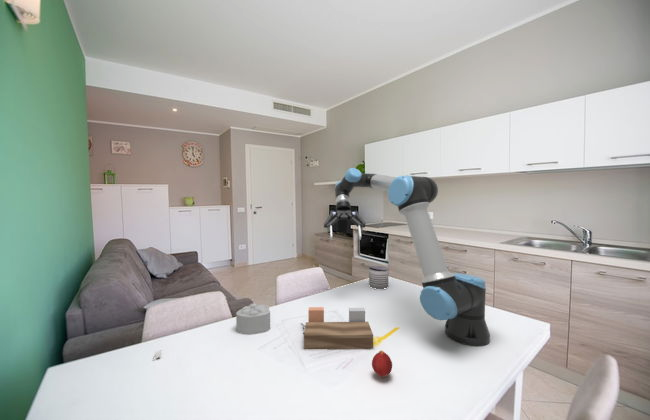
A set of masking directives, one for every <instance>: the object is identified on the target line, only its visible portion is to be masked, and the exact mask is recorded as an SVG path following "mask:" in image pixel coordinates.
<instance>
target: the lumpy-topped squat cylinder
mask: <svg viewBox="0 0 650 420" xmlns="http://www.w3.org/2000/svg"><path fill="white" fill-rule="evenodd" d="M235 316H236V317H235V319H236V320H235V321H236V323H235V325H236V327H235V328H236V332H237V333H238V334H241V335H246V336H247V335H248V336H251V335H257V334H263V333H267V332H269V331H270V330H271V311H270V306H269V305H267V304H258V303H255V302H254V303H251V304H249V305H246V306H243V307H242V308H241V309H238V311H236V313H235Z"/></svg>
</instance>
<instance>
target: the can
mask: <svg viewBox="0 0 650 420" xmlns="http://www.w3.org/2000/svg"><path fill="white" fill-rule="evenodd" d="M368 269H369V270H368V277H369V278H368V286H369V285H370V287H372V288H376V289H384V288H387V287H388V288H389V269H390V268H389V267H387V266H382V265H369V266H368ZM370 287H369V288H370ZM372 288H371V289H372ZM388 288H387V289H388ZM376 289H375V290H376ZM384 290H385V289H384Z"/></svg>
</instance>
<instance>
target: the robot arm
mask: <svg viewBox="0 0 650 420" xmlns="http://www.w3.org/2000/svg"><path fill="white" fill-rule="evenodd" d="M354 188H370V189H376V190H381V191H385V192H387V196H388V200H389V202H390V203H391V204H392V205H394V206H396V207H397V209H398V211H399V212H398V213H400V214H401V215H403V216H404V217H405V221H406V223H407V226H408V230H409V233H410V236H411V240H412V242H413V245H414V248H415V252H416V255H417V258H418V261H419V264H420V268H421V271H422V274H423V278H422V281H421V285H422V290H421V291H420V295H419V300H420V305H421V307H422V308H423V310H424V312H426V314H427V315H428V316H431V318H433V319H434V320H437V321H445V325H444V333H445V334H446V336H447V337H448V338H449V339H451V340H453V341H455V342H457V343H460V344H463V345H467V346H472V347H473V346H474V347H475V346H476V347H481V346H486V345H488V344H489V343H490V341H491V340H490V339H491V337H490V336H491V335H490V334H491V333H490V332H489V331H490V330H489V327H488V325H487V321H486V319H485V318H486V292H487V287H486V281H485V279H483V278H482V277H480V276H476V275H471V274H466V273H460V272H459V273H455V272H454V273H452V272H450V270H449V269H448V265H447V263H446V259H445V257H444V254H443V251H442V248H441V246H440V242H439V240H438V236H437V234H436V231H435V228H434V226H433V222H432V220H431V217H430V215H429V211H428V208H429V206H430V203H432V202H434V201H435V199H436V198H437V196H438V193H439V187H438V184H437V183H436V182H435V180H433V179H432V178H431V177H428V176H416V175H413V176H412V175H399V176H390V175H383V174H377V173H366V172H365V173H363V172H361V171H360V170H359V169H358V168H355V167H350V168H348V170H347V172H346V173H345V175H344V177H343V178H342V180H340V181H338V182H337V183H335V186H334V194H335V195H334V196H335V197H334V198H335V211H334V210H330V211H329V212H330V214H328V217H327V218H326V220H325V221H324V222H323V227H324V228H327V234H329V236H330V237H329V239H330V241H332V240H333V226H334V225H335V224H336V223H337V222H339V221H340V220H341V221H349V222H351V223H353V225H355V226H356V227H357V233H358V234H357V235H358V240H360V241H361V240H362V234H363V231H364V229H365V228H366V225H367V224H366V222H365V221H364V220H363V218H362V217H361V216H360V214H359V213H358V210H355V211H352V209H351V199H350V194H351V192H352V191H353V189H354ZM334 216H335V217H334ZM333 217H334V218H333Z"/></svg>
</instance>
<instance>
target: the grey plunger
mask: <svg viewBox="0 0 650 420" xmlns="http://www.w3.org/2000/svg"><path fill="white" fill-rule="evenodd" d="M348 322H366V310H365V307H349V308H348Z"/></svg>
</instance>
